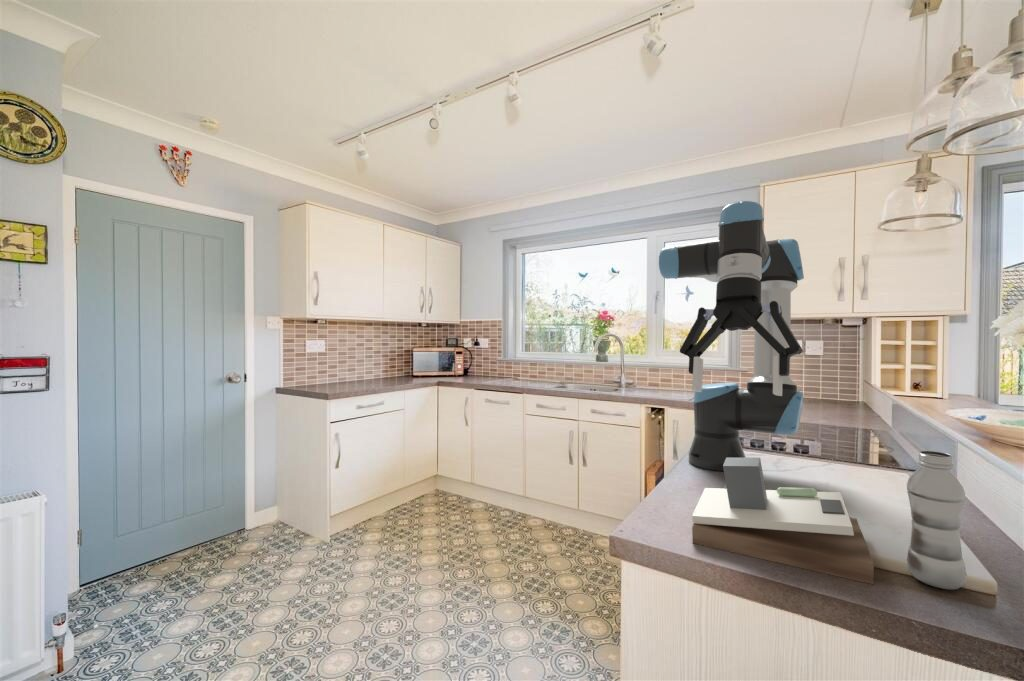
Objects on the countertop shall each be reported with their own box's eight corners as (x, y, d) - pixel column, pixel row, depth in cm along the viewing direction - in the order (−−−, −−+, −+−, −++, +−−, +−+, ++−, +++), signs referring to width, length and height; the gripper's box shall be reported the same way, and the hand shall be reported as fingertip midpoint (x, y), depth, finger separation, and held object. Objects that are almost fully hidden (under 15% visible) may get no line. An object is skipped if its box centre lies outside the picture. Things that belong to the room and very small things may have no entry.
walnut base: (706, 507, 95) (706, 493, 95) (856, 534, 81) (856, 518, 81) (692, 543, 79) (692, 526, 79) (873, 584, 66) (873, 563, 65)
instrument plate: (706, 494, 94) (698, 451, 94) (842, 499, 81) (832, 450, 81) (693, 523, 80) (685, 473, 81) (854, 535, 67) (843, 475, 68)
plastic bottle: (977, 590, 63) (977, 457, 63) (948, 600, 61) (948, 462, 61) (924, 567, 70) (924, 446, 69) (896, 576, 68) (895, 450, 67)
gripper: (666, 284, 88) (660, 387, 84) (813, 264, 70) (812, 393, 66) (682, 294, 93) (676, 392, 89) (822, 278, 75) (822, 399, 71)
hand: (734, 393), depth 78 cm, fingers open, 13 cm apart
